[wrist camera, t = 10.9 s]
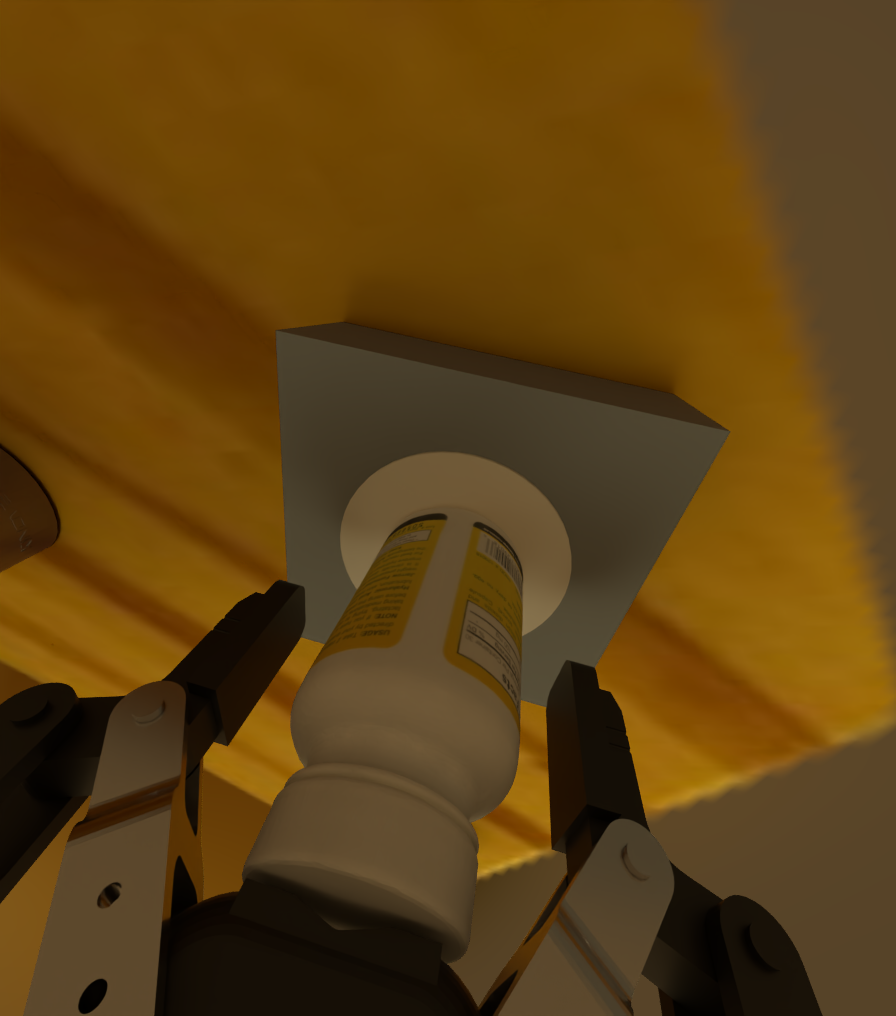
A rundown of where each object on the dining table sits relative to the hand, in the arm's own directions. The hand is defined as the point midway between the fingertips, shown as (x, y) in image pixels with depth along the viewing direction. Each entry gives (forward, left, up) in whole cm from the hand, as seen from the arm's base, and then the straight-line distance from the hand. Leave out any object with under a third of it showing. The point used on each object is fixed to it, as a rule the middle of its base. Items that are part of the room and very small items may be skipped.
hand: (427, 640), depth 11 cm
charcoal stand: (0, 0, -9) cm, 9 cm away
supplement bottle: (0, 0, -4) cm, 4 cm away
